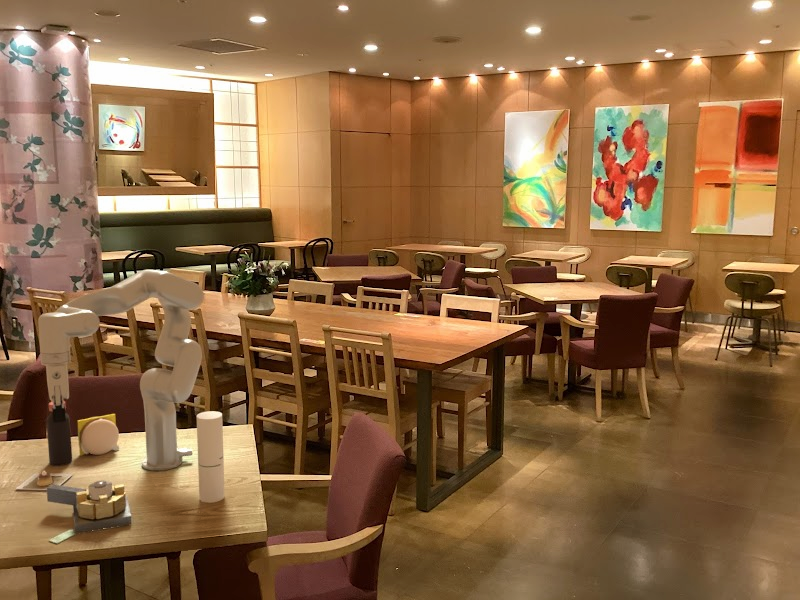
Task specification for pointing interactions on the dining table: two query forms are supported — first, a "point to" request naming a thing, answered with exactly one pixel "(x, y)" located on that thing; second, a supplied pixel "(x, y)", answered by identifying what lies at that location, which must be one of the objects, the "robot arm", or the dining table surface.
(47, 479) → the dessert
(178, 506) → the dining table surface
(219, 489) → the cylindrical container
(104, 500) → the ring nut
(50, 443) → the bottle
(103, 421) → the hamburger
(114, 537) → the dining table surface
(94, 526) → the housing
